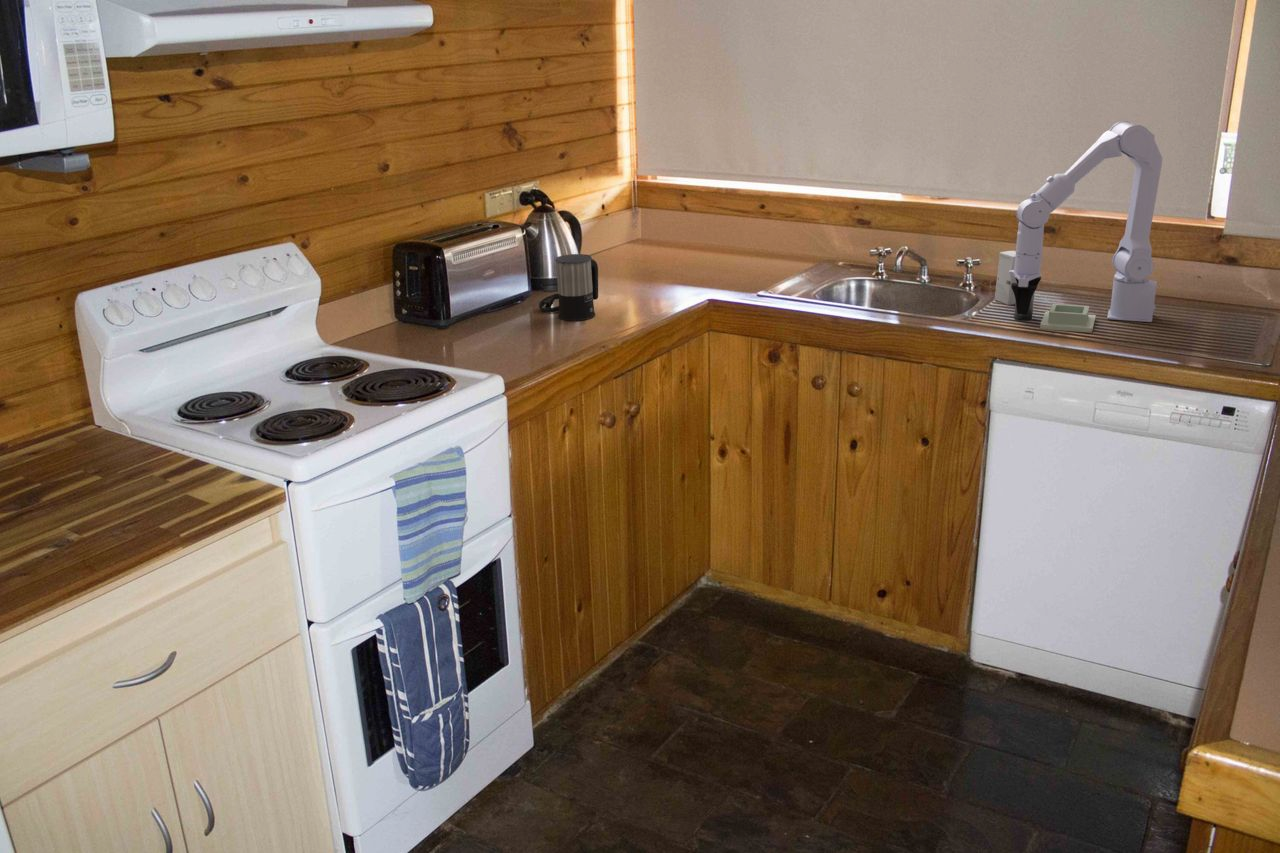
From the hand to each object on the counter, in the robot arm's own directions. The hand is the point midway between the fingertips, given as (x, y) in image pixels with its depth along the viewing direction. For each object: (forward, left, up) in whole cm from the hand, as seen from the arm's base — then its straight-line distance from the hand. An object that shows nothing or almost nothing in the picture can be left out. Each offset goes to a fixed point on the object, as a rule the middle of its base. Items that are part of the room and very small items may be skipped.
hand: (1023, 310), depth 263 cm
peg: (0, 0, -2) cm, 2 cm away
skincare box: (+5, -15, -2) cm, 16 cm away
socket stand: (-10, +2, -2) cm, 10 cm away
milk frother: (+106, +27, -2) cm, 110 cm away
